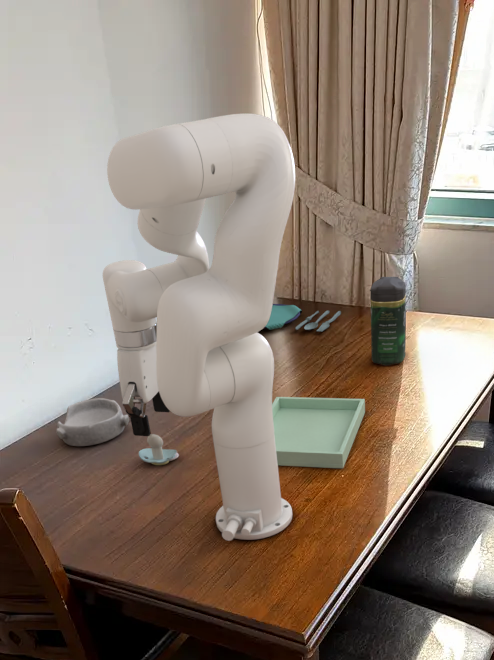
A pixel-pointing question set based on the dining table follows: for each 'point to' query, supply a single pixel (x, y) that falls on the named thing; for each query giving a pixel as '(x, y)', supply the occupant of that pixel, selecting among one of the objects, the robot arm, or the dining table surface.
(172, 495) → the dining table surface
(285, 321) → the cutlery set
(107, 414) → the dish
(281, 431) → the tray
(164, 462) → the pacifier
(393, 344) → the coffee jar
